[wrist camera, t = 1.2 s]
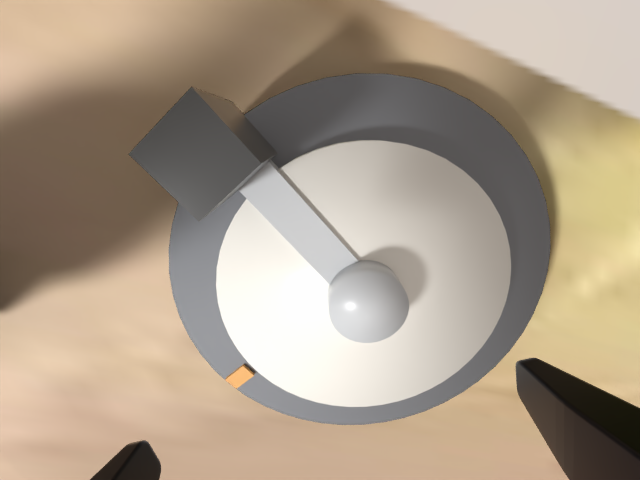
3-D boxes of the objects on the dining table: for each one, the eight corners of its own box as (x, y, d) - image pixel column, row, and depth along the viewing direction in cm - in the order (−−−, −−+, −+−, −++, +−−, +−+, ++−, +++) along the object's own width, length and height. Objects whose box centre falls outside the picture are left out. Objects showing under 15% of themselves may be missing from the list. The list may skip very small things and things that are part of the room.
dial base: (103, 258, 19) (84, 269, 18) (392, -29, 15) (402, -48, 13) (335, 451, 25) (337, 473, 23) (593, 285, 21) (617, 298, 19)
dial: (550, 295, 19) (646, 361, 13) (343, 431, 22) (353, 530, 16) (340, -4, 14) (358, -93, 8) (109, 229, 17) (13, 276, 11)
